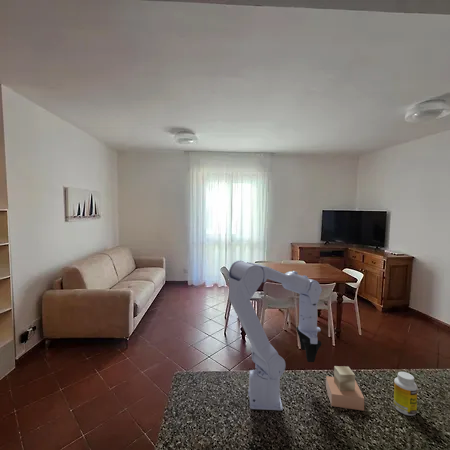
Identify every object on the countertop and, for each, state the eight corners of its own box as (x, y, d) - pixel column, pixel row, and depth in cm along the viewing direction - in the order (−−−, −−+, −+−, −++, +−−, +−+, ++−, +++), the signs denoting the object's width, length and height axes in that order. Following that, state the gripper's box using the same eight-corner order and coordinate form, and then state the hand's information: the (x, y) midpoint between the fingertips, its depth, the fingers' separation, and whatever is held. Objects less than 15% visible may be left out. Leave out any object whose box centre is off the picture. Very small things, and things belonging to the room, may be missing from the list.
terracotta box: (331, 407, 77) (331, 393, 77) (325, 388, 86) (325, 376, 86) (364, 411, 75) (364, 398, 75) (354, 391, 84) (355, 379, 84)
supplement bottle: (411, 419, 72) (412, 383, 71) (390, 407, 76) (390, 373, 76) (420, 411, 75) (421, 377, 74) (398, 400, 79) (399, 367, 79)
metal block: (339, 390, 78) (340, 374, 78) (334, 381, 83) (334, 366, 83) (354, 391, 78) (355, 374, 78) (348, 382, 82) (348, 366, 82)
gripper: (327, 323, 78) (327, 368, 78) (313, 307, 92) (313, 345, 93) (304, 323, 78) (303, 367, 79) (294, 307, 93) (293, 344, 93)
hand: (307, 355), depth 86 cm, fingers open, 7 cm apart
